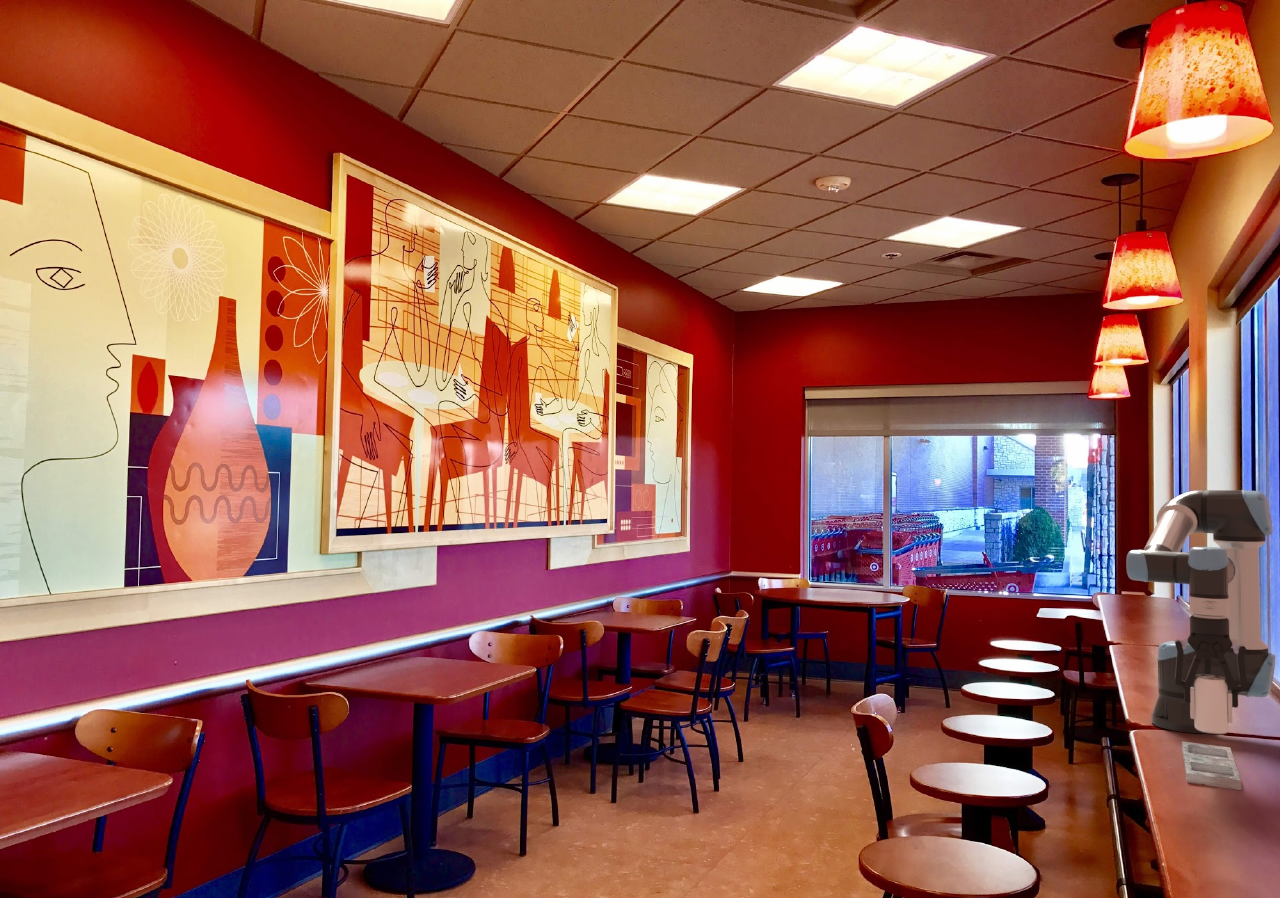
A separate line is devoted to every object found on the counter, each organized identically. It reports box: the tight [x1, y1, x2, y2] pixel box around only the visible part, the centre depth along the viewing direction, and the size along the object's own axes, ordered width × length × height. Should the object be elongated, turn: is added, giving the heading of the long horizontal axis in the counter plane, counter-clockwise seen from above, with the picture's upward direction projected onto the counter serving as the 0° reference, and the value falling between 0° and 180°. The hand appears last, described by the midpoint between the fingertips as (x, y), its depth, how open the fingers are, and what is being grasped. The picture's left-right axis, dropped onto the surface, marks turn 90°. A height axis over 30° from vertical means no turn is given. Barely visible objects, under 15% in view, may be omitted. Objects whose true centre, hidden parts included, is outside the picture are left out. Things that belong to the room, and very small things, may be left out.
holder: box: [1181, 741, 1242, 791], centre depth 209 cm, size 30×10×2 cm, turn 151°
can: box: [1194, 674, 1229, 735], centre depth 203 cm, size 6×6×12 cm
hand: (1211, 719), depth 203 cm, fingers closed on can, 6 cm apart
